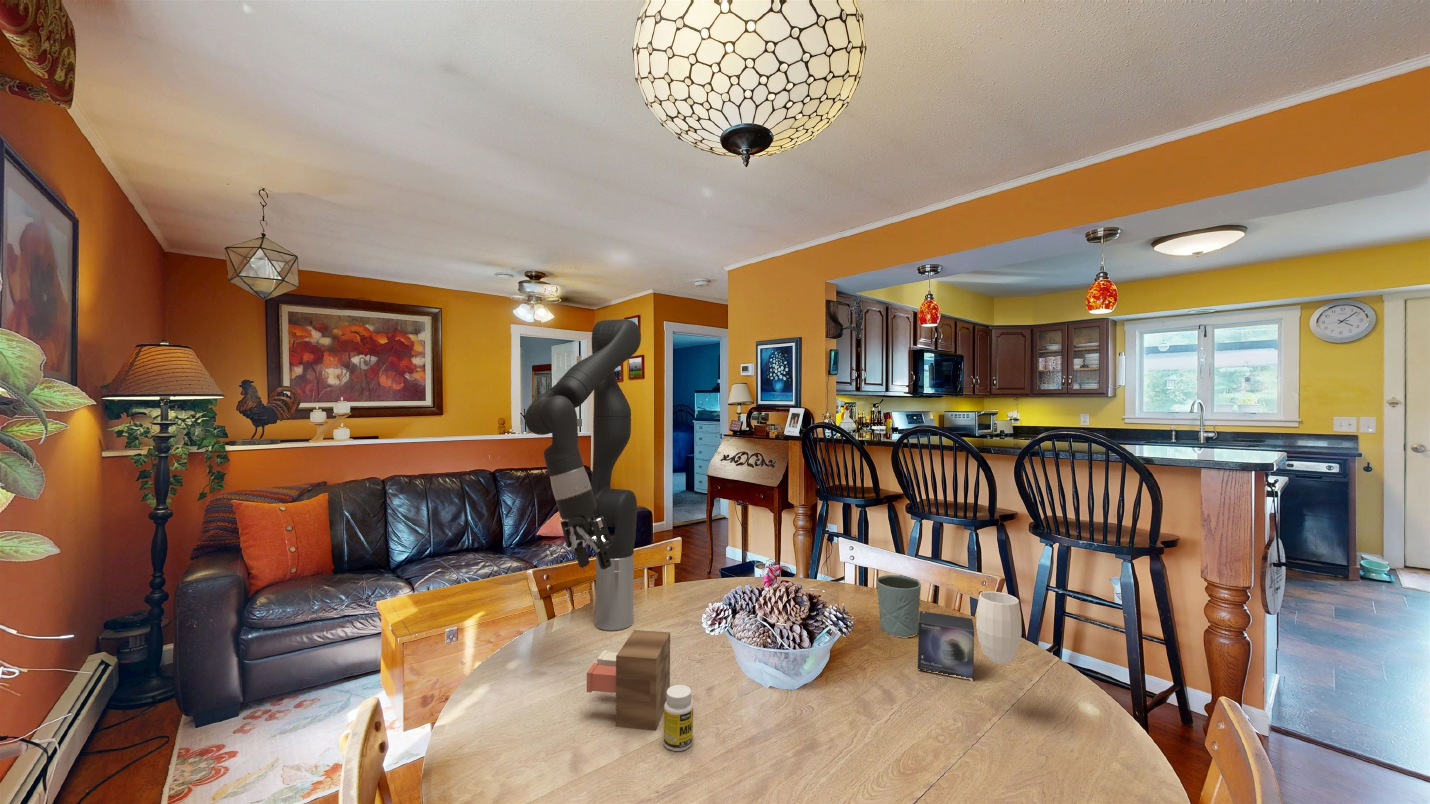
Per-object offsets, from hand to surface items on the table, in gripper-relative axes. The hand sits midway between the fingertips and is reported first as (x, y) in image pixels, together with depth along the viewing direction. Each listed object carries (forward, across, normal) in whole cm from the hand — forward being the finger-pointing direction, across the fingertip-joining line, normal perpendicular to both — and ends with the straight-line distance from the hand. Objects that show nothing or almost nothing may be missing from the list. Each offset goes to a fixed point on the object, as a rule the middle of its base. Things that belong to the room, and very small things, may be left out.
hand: (595, 566), depth 111 cm
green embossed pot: (+40, -30, -55) cm, 75 cm away
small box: (+41, -46, -44) cm, 76 cm away
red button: (+17, -14, +11) cm, 24 cm away
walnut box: (+23, -15, +7) cm, 29 cm away
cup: (+41, -59, -35) cm, 80 cm away
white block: (+17, -11, +7) cm, 21 cm away
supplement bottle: (+25, -26, +9) cm, 37 cm away
